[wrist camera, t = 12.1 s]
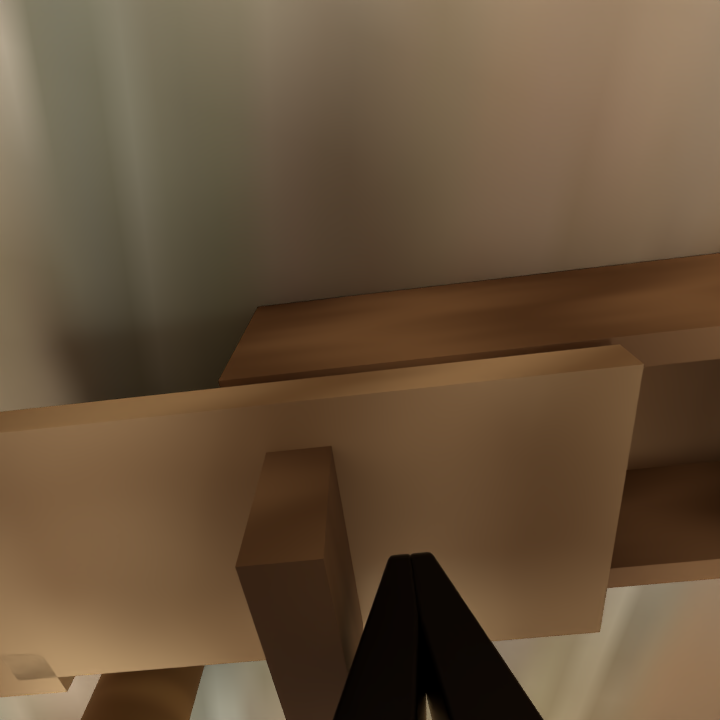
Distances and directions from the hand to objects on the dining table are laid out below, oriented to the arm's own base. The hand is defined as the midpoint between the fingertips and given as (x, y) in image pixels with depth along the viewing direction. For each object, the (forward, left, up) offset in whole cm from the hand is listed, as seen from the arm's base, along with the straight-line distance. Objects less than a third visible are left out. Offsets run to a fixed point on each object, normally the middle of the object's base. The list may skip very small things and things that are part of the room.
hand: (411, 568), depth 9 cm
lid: (+4, 0, -2) cm, 5 cm away
